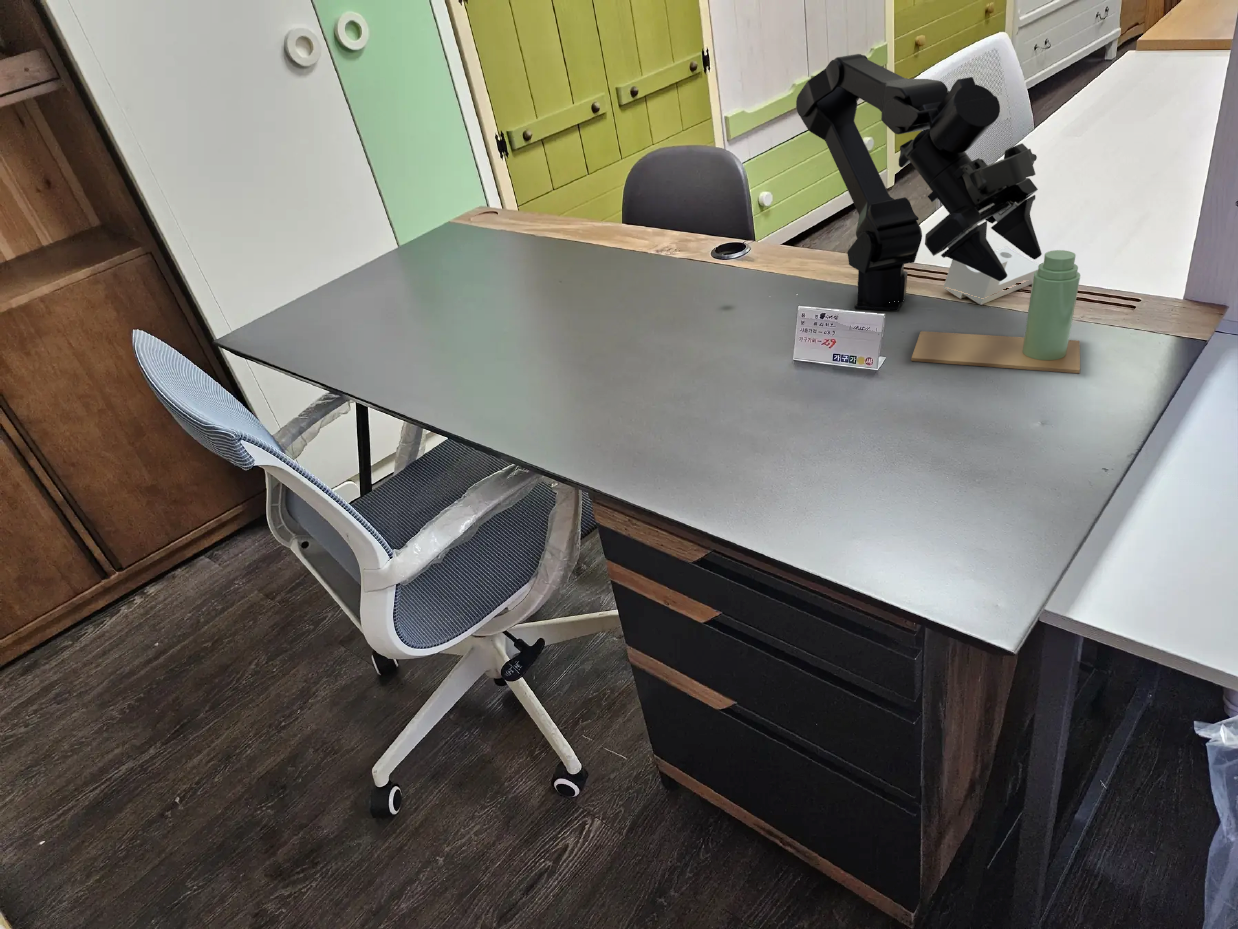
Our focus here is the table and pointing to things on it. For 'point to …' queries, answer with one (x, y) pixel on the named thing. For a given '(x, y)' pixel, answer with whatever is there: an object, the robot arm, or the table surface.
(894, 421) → the table surface
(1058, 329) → the bottle
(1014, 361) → the cork pad
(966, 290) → the bracket
